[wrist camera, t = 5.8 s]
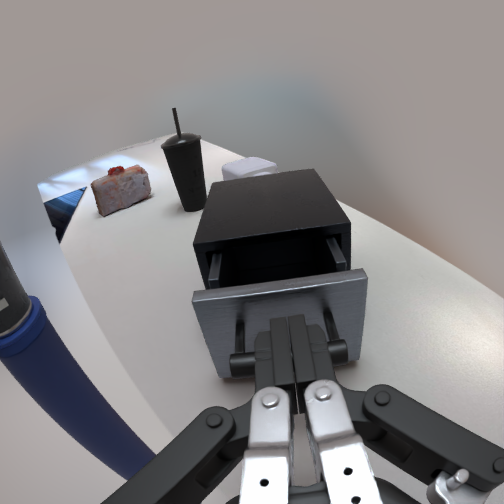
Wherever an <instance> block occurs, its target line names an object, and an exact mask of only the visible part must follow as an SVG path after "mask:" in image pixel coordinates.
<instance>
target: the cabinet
mask: <svg viewBox="0 0 504 504" xmlns="http://www.w3.org/2000/svg"><path fill="white" fill-rule="evenodd" d="M331 234H333V236H334V238H335V240H336V242H337V244H338V246H339V248H340V250H341V252H342V254H343V256H344V258H345V260H346V271H348V270H351V222H350V220H349V219H348V217H347V216H346V214H345V213H344V211H343V210H342V208H341V207H340V205H339V204H338V202H337V201H336V199H335V198H334V196H333V195H332V194H331V192H330V191H329V189H328V188H327V186H326V185H325V184H324V182H323V181H322V180H321V178H320V176H319V175H318V174H317V172H316V171H315V170H314V169H306V170H297V171H289V172H282V173H274V174H266V175H259V176H252V177H246V178H239V179H233V180H227V181H220V182H214V183H212V186H211V189H210V192H209V195H208V198H207V201H206V204H205V207H204V210H203V213H202V216H201V219H200V223H199V226H198V229H197V232H196V235H195V239H194V242H193V247H194V251H195V253H196V258H197V261H198V265H199V268H200V272H201V275H202V279H203V282H204V286H205V289H206V290H209V289H210V285H209V281H208V279H209V274H210V268H211V262H212V257H213V251H214V250H221V249H229V248H236V247H243V246H250V245H257V244H265V243H272V242H279V241H286V240H294V239H301V238H308V237H316V236H323V235H331Z"/></svg>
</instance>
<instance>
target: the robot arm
mask: <svg viewBox="0 0 504 504" xmlns="http://www.w3.org/2000/svg"><path fill="white" fill-rule="evenodd" d="M32 311H33V303H32V302H31V300H30V298H29V297H28V295H27V293H26V292H25V290H24V288H23V287H22V285H21V283H20V281H19V279H18V277H17V275H16V273H15V271H14V269H13V267H12V265H11V263H10V261H9V259H8V257H7V255H6V253H5V250H4V248H3V246H2V244H1V242H0V340H1V339H4V338H7V337H9V336H10V335H12V334H14V333H15V332H16V331H18V330H19V329H20V328H21V327H22V326H23V325H24V324H25V323H26V322H27V320H28V319H29V318H30V316H31V314H32ZM287 317H288V326H289V335H290V342H289V335H288V327H287V320H286V317H278V318H271V319H270V331H263V332H259V333H258V335H257V337H256V339H255V341H254V351H255V393H254V395H253V397H252V398H251V400H250V401H249V402H247V403H246V404H244V405H242V406H240V407H237V408H235V409H232V410H228V409H226V408H224V407H219V406H214V407H210V408H207V409H205V410H204V411H202V412H201V413H200V414H199V415H198V416H197V417H196V418H195V419H194V420H193V421H192V422H191V423H190V424H189V425H188V426H187V427H186V428H185V429H184V430H183V431H182V432H181V433H180V434H179V435H178V436H177V437H175V438H174V439H173V440H172V441H171V442H170V443H169V444H168V445H167V446H166V447H165V448H164V449H163V450H162V451H161V452H159V453H158V454H157V455H156V456H155V457H154V458H153V459H152V460H151V461H150V462H148V463H147V464H146V465H145V466H144V467H143V468H142V469H141V470H139V471H138V472H137V473H136V474H135V475H134V476H133V477H132V478H130V479H129V480H128V481H127V482H126V483H125V484H123V485H122V486H121V487H120V488H119V489H118V490H116V491H115V492H114V493H113V494H112V495H110V496H109V497H108V498H107V499H106V500H104V501H103V502H102V503H101V504H200V503H201V502H202V501H203V500H204V499H205V498H206V497H207V496H208V495H209V494H210V493H211V492H212V491H213V490H214V489H215V488H216V487H217V486H218V485H219V484H220V483H221V481H222V480H223V479H224V478H225V477H226V476H227V475H228V474H229V473H230V472H231V471H232V470H233V469H234V468H235V466H236V465H237V464H238V463H239V462H240V461H241V460H242V459H243V468H242V479H241V489H240V495H238V496H236V497H234V498H232V499H231V500H229V501H228V502H227V503H226V504H421V503H419V502H418V501H416V500H415V499H413V498H412V497H410V496H409V495H407V494H406V493H405V492H403V491H402V490H400V489H399V488H397V487H396V486H394V485H393V484H391V483H390V482H388V481H386V480H383V479H381V478H377V477H374V475H373V472H372V468H371V465H370V462H369V459H368V456H367V453H366V450H365V446H367V447H368V448H370V449H371V450H373V451H374V452H376V453H377V454H379V455H380V456H382V457H383V458H385V459H386V460H388V461H389V462H391V463H392V464H394V465H395V466H397V467H399V468H400V469H402V470H403V471H405V472H406V473H408V474H410V475H411V476H413V477H414V478H416V479H418V480H419V481H421V482H423V483H424V484H426V485H428V488H427V492H426V495H427V499H428V501H429V502H430V503H431V504H484V503H485V501H486V500H487V498H488V496H489V495H490V493H491V491H492V490H493V489H495V488H496V487H497V486H499V485H500V484H502V483H503V482H504V449H503V448H501V447H499V446H497V445H495V444H493V443H491V442H490V441H488V440H486V439H484V438H482V437H480V436H478V435H476V434H475V433H473V432H471V431H469V430H467V429H465V428H464V427H462V426H460V425H458V424H456V423H454V422H453V421H451V420H449V419H447V418H445V417H444V416H442V415H440V414H438V413H437V412H435V411H433V410H431V409H430V408H428V407H426V406H424V405H423V404H421V403H419V402H417V401H416V400H414V399H412V398H410V397H409V396H407V395H405V394H404V393H402V392H400V391H398V390H397V389H395V388H393V387H392V386H389V385H385V384H380V385H375V386H373V387H371V388H370V389H368V390H367V392H365V391H354V390H349V389H346V388H344V387H343V386H342V385H340V384H339V382H338V381H337V379H336V376H335V372H334V368H333V364H332V360H331V356H330V352H329V348H328V344H327V340H326V336H325V332H324V331H323V329H322V328H321V327H320V326H319V325H318V324H313V325H306V321H305V316H304V314H299V315H292V316H287ZM290 344H291V349H290ZM291 352H292V357H291ZM292 359H293V364H292ZM293 367H294V372H293ZM294 374H295V380H294ZM295 382H296V389H295ZM296 390H297V397H298V405H299V413H300V414H302V413H305V420H306V431H307V435H308V440H309V444H310V449H311V453H312V458H313V462H314V467H315V474H316V480H317V483H316V484H314V485H311V486H308V487H302V486H294V435H293V431H294V417H293V415H295V414H298V409H297V399H296ZM364 445H365V446H364Z"/></svg>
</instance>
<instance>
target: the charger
mask: <svg viewBox="0 0 504 504" xmlns="http://www.w3.org/2000/svg"><path fill="white" fill-rule="evenodd" d="M274 173H278V171H277V165H276V163H273V162H270V161H267V160H264V159H261V158H257V157H249V158H245V159H241V160H238V161H234V162H230V163H227V164H225V165H223V166H222V174H223V179H224V181H227V180H233V179H239V178H246V177H252V176H259V175H266V174H274Z"/></svg>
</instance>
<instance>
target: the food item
mask: <svg viewBox="0 0 504 504" xmlns="http://www.w3.org/2000/svg"><path fill="white" fill-rule="evenodd" d="M91 185H92V186H91V188H92V190H93V193H94V196H95V200H96V204H97V205H96V206H97V207H98V210H99V213H100V214H101V215H102V216H106V215H108V214H110V213H112V212H115V211H117V210H119V209H121V208H128V207H129V206H131V205H132V204H133V203H136V202H138V201H141V200H143V199H145V198H147V196H148V194H150V192H151V187H150V182H149V179H148V173H147V172H146V171H145V170H144V169H143V168H142V167H140V166H139V165H135V166H132V167H129V168H127V169H124V168H123V167H121V166H117V167H113V168H112V169H111V168H110V169H109V171H108V175H107V176H104V177H102V178H100V179H97V180H94V181H93V182H92V183H91Z"/></svg>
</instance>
